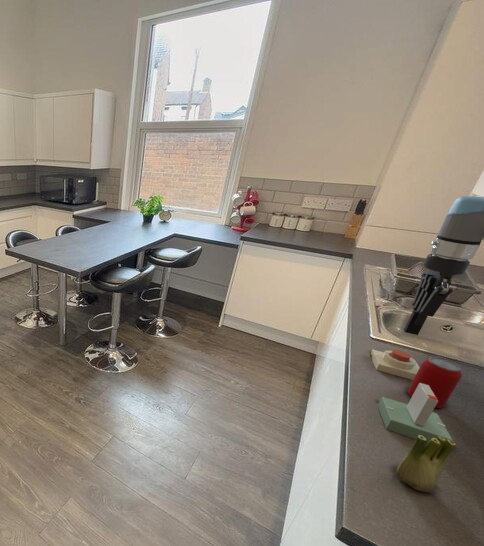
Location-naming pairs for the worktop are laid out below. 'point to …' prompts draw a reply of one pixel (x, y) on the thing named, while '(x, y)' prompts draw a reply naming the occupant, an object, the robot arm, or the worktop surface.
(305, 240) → the worktop surface
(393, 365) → the button box
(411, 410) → the handle
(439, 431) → the plate
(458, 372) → the beverage can
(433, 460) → the fennel bulb
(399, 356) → the button
